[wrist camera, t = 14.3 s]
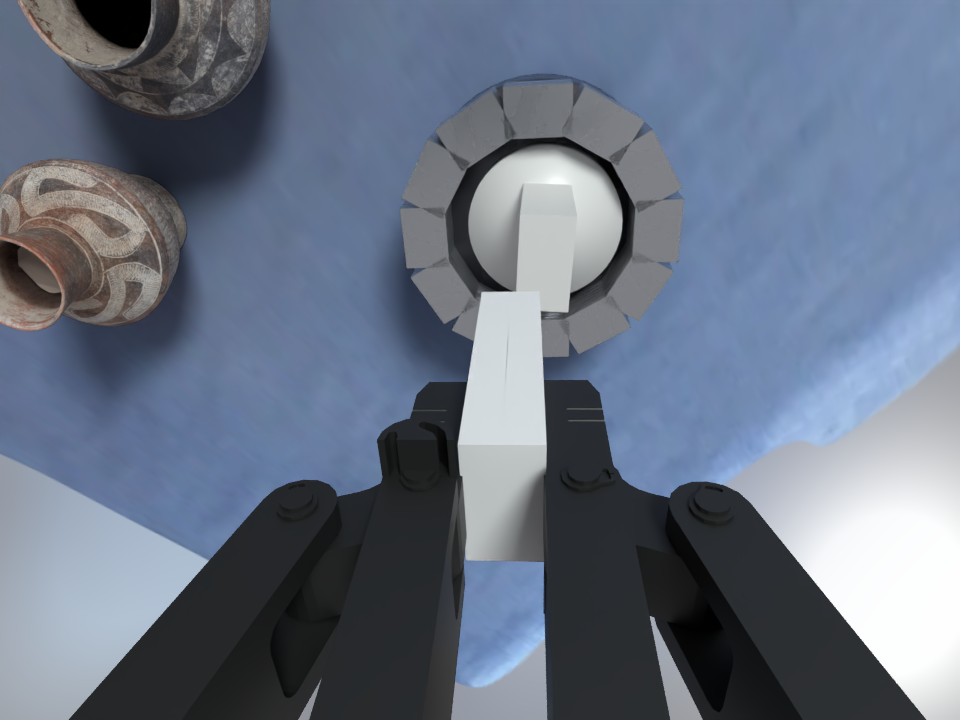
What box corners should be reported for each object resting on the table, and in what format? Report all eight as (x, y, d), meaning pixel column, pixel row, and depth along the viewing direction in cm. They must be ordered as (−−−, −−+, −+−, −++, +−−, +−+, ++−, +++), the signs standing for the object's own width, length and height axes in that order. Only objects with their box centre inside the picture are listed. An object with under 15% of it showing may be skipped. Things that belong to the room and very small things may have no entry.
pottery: (49, 241, 43) (-109, 313, 32) (129, -180, 31) (-75, -279, 21) (206, 317, 45) (105, 409, 34) (336, -53, 33) (244, -86, 23)
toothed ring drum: (435, 305, 43) (417, 358, 36) (414, 79, 36) (386, 93, 29) (647, 301, 41) (668, 355, 35) (666, 65, 35) (696, 77, 28)
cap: (470, 284, 36) (454, 341, 30) (472, 138, 32) (454, 167, 26) (610, 291, 36) (625, 351, 29) (628, 144, 32) (651, 175, 25)
